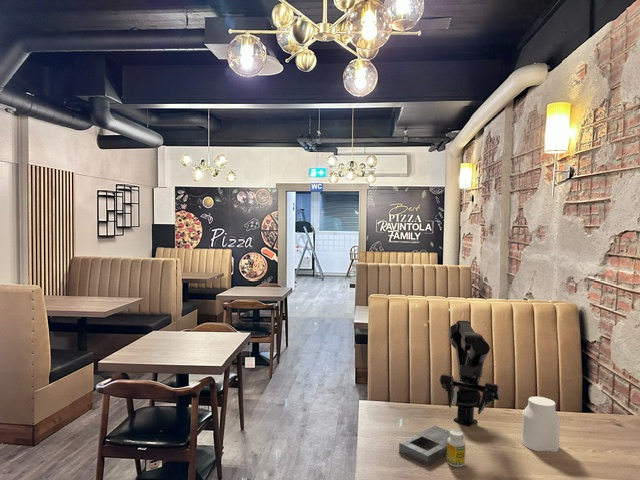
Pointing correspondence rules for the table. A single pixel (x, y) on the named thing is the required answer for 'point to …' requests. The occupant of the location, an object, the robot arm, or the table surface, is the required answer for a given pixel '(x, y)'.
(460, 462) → the supplement bottle
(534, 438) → the jar
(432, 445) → the grey slotted block
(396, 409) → the table surface
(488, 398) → the robot arm
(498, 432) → the table surface
